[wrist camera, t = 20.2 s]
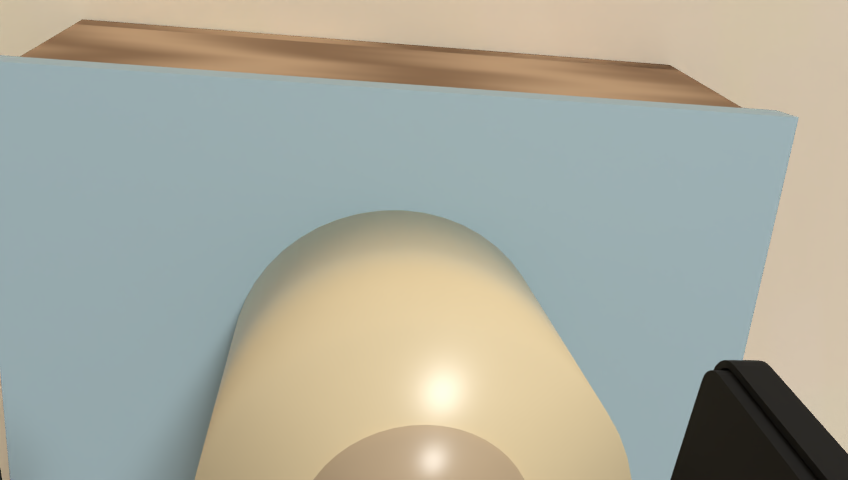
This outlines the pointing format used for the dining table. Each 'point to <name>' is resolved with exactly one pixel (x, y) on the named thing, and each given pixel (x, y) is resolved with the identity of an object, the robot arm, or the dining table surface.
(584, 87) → the crate
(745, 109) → the lid
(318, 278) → the cream bottle with knob
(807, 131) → the dining table surface
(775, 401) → the robot arm
